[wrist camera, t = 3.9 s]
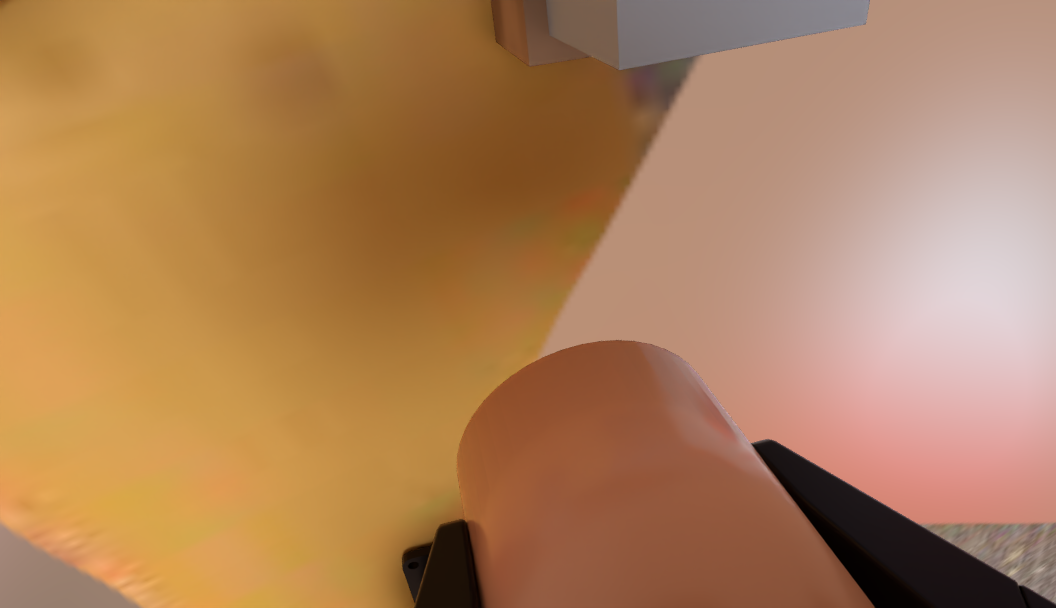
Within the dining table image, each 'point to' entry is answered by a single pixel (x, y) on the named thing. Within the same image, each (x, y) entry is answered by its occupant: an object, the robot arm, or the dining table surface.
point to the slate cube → (690, 25)
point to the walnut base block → (529, 33)
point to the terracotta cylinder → (631, 494)
